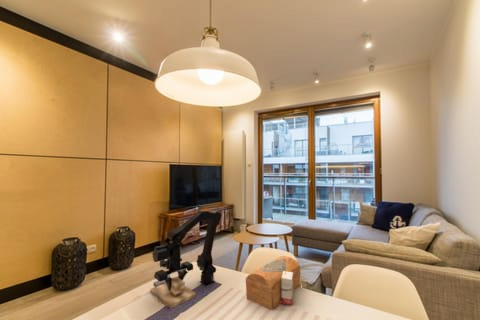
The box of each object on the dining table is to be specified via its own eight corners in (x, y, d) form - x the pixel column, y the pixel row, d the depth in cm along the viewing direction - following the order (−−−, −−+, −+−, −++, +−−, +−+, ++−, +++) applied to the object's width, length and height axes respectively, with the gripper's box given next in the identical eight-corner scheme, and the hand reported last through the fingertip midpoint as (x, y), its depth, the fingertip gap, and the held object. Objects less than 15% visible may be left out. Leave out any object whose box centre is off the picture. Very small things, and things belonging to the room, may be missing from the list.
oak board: (174, 282, 129) (174, 279, 129) (195, 296, 115) (196, 293, 115) (150, 291, 119) (150, 288, 119) (170, 308, 105) (170, 305, 105)
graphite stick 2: (167, 285, 127) (165, 283, 128) (167, 281, 127) (165, 280, 128) (156, 289, 122) (154, 287, 124) (156, 285, 122) (154, 284, 124)
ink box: (291, 305, 106) (291, 279, 107) (281, 303, 108) (281, 278, 108) (293, 295, 115) (293, 271, 115) (283, 294, 116) (283, 270, 116)
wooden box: (273, 312, 103) (273, 280, 103) (244, 298, 113) (244, 269, 114) (303, 286, 126) (303, 260, 126) (276, 276, 136) (276, 252, 137)
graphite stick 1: (165, 283, 128) (163, 282, 130) (165, 279, 128) (163, 278, 130) (155, 287, 124) (153, 286, 125) (155, 283, 124) (153, 282, 125)
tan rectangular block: (176, 285, 119) (177, 276, 119) (184, 292, 115) (184, 282, 114) (167, 289, 116) (168, 279, 116) (174, 296, 111) (175, 286, 111)
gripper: (182, 247, 129) (181, 276, 129) (149, 257, 116) (148, 289, 115) (193, 253, 121) (193, 283, 121) (160, 263, 108) (159, 298, 107)
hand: (174, 288), depth 116 cm, fingers closed on tan rectangular block, 5 cm apart
